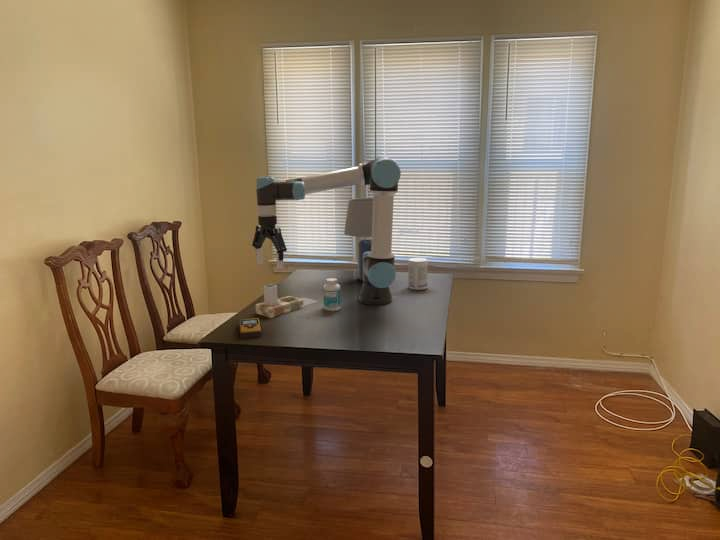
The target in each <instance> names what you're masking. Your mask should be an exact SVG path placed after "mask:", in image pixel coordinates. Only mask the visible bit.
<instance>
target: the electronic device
mask: <svg viewBox="0 0 720 540" xmlns="http://www.w3.org/2000/svg"><path fill="white" fill-rule="evenodd" d="M238 331H239V332H238V333H239V338H240V339H253V338H261V337H262V336H263V329H262V323H261V321H260V319H259V318H258V317H249V318H241V319H239V323H238Z"/></svg>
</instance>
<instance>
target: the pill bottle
mask: <svg viewBox="0 0 720 540" xmlns="http://www.w3.org/2000/svg"><path fill="white" fill-rule="evenodd" d="M325 282H326V283H324V285H323V287H322V288H323V310H325V311H330V312H331V311H332V312H337V311H340V310H341V307H342V306H341V305H342V303H341V300H342V299H341V285H340V284H339V283H338V279H337V278H333V277H331V278H326V279H325Z"/></svg>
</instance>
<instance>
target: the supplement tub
mask: <svg viewBox="0 0 720 540" xmlns="http://www.w3.org/2000/svg"><path fill="white" fill-rule="evenodd" d="M407 267H408V269H407V271H408V273H407V274H408V275H407V276H408V279H407V281H408V288H409V290H410V289H411V290H414V291H423V290H426V289H427V288H428V259H427V258H424V257H411V258H409V259H408V264H407Z"/></svg>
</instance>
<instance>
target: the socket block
mask: <svg viewBox="0 0 720 540" xmlns="http://www.w3.org/2000/svg"><path fill="white" fill-rule="evenodd" d="M303 308H304V306H303V300H302V299H300V298H299V297H297V296H292V295H287V296H283V297H278V305H276V306H272V307H270V306H267V305H264V301H262V302H260V303H256V304H255V314H257V315H260V316H264V317H266V318H268V319H273V318H277V317H279V316H280V315H282V314H286V313H289V312H293V311H297V310H300V309H303Z"/></svg>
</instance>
